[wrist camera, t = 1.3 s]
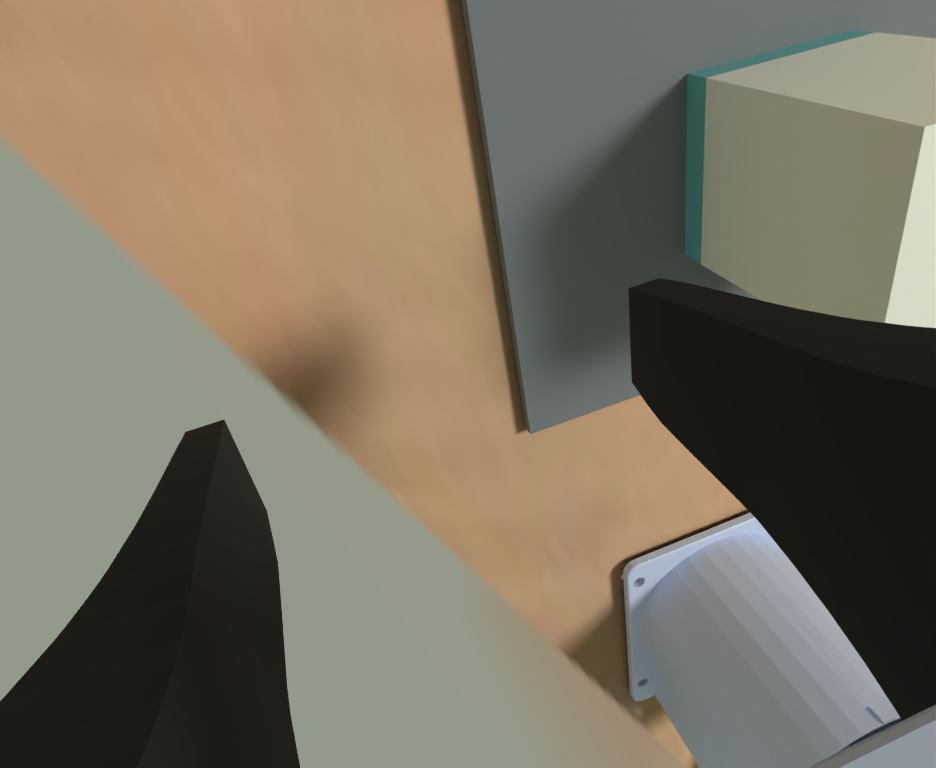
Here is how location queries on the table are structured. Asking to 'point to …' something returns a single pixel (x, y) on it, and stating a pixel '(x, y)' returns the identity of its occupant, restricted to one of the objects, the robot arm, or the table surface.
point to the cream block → (819, 176)
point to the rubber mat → (610, 161)
